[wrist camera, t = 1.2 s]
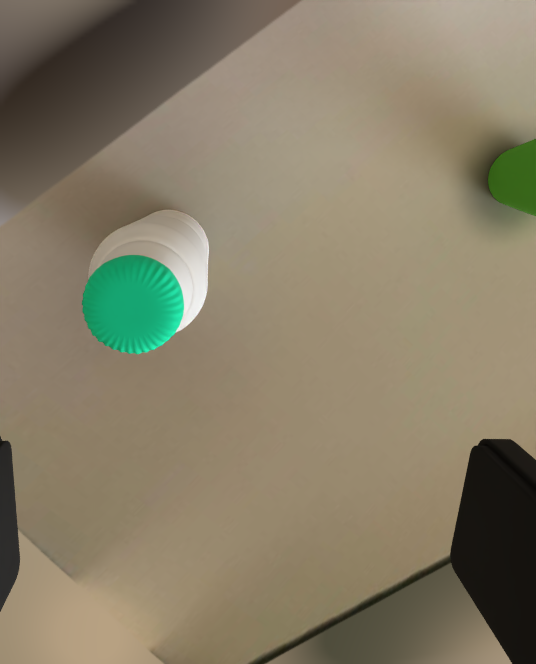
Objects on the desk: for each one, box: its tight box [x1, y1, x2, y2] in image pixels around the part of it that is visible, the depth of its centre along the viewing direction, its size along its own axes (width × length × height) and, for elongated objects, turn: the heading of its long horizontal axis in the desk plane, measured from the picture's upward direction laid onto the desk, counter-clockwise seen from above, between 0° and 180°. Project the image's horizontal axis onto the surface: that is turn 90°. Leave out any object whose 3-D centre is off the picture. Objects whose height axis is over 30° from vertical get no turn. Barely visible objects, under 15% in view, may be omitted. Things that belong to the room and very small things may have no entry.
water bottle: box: [82, 210, 209, 354], centre depth 35 cm, size 7×7×25 cm
